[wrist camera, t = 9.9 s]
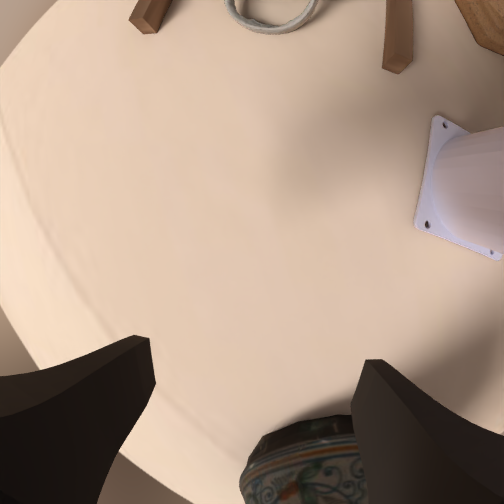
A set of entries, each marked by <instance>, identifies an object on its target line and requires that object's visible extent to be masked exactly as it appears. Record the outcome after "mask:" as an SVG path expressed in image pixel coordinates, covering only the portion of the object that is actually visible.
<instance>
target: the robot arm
mask: <svg viewBox="0 0 504 504" xmlns="http://www.w3.org/2000/svg"><path fill="white" fill-rule="evenodd" d="M443 123H444V124H445V126H446V128H444V127H443ZM426 221H428V226H427V227H426V228H425V222H426ZM413 223H414V226H415V228H417V229H419V230H421V231H424V232H427V233H430V234H432V235H435V236H438V237H440V238H443V239H446V240H448V241H451V242H453V243H456V244H458V245H461V246H463V247H466V248H468V249H471V250H473V251H475V252H478V253H480V254H482V255H485V256H487V257H489V258H492V259H494V260H496V261H499V260H500V259H501V258H502V255H503V254H504V126H502V127H498V128H493V129H489V130H485V131H480V132H476V133H472V134H471V133H469V132H468V131H466V130H464V129H463V128H461V127H459V126H458V125H456V124H454V123H452V122H451V121H449V120H447V119H445V118H443V117H441V116H439V115H436V116H434V117H433V118H432V121H431V130H430V138H429V145H428V152H427V158H426V164H425V170H424V175H423V180H422V185H421V190H420V195H419V199H418V204H417V208H416V212H415V216H414V221H413ZM490 251H491V253H490ZM155 385H156V381H155V375H154V369H153V362H152V355H151V348H150V340H149V338H146V337H141V336H137V335H132V336H129V337H127V338H124V339H122V340H119V341H117V342H115V343H112V344H110V345H108V346H105V347H103V348H101V349H98V350H96V351H94V352H91V353H89V354H87V355H84V356H82V357H79V358H76V359H74V360H71V361H68V362H66V363H63V364H60V365H57V366H54V367H50V368H47V369H43V370H39V371H35V372H30V373H24V374H17V375H10V376H0V504H97V501H98V498H99V495H100V492H101V490H102V487H103V484H104V482H105V479H106V477H107V474H108V472H109V470H110V467H111V465H112V463H113V461H114V458H115V456H116V455H117V453H118V451H119V449H120V448H121V446H122V444H123V443H124V441H125V440H126V438H127V436H128V435H129V433H130V432H131V430H132V428H133V427H134V425H135V424H136V422H137V420H138V419H139V417H140V416H141V414H142V412H143V411H144V409H145V407H146V406H147V403H148V401H149V399H150V397H151V394H152V392H153V390H154V387H155ZM351 412H352V421H353V429H354V433H355V437H356V441H357V445H358V449H359V453H360V457H361V461H362V466H363V470H364V474H365V478H366V484H367V491H368V504H504V436H503V435H500V434H497V433H494V432H492V431H489V430H487V429H484V428H482V427H480V426H477V425H475V424H473V423H471V422H469V421H468V420H466V419H464V418H462V417H460V416H458V415H457V414H455V413H453V412H452V411H450V410H449V409H447V408H446V407H444V406H443V405H441V404H440V403H438V402H437V401H435V400H434V399H433V398H431V397H430V396H429V395H427V394H426V393H425V392H423V391H422V390H421V389H419V388H418V387H417V386H416V385H414V384H413V383H412V382H411V381H409V380H408V379H407V378H406V377H404V376H403V375H402V374H401V373H400V372H398V371H397V370H396V369H395V368H393V367H392V366H391V365H389V364H388V363H387V362H385V361H384V360H382V359H373V360H365V363H364V366H363V370H362V373H361V376H360V379H359V382H358V385H357V388H356V391H355V394H354V396H353V399H352V402H351Z"/></svg>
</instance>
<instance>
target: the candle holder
mask: <svg viewBox="0 0 504 504" xmlns="http://www.w3.org/2000/svg"><path fill="white" fill-rule="evenodd" d="M454 1H455V2H456V4H457V6H458V8H459V9H460V11H461V13H462V15H463V17H464V19H465V21H466V23H467V24H468V26H469V28H470V30H471V32H472V34H473V36H474V38H475V40H476V42H477V43H478V44H479V45H480V46H482V47H484V48H487V49H489V50H491V51H494V52H496V53H498V54H501V55H503V56H504V0H454Z"/></svg>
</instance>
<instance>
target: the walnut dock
mask: <svg viewBox="0 0 504 504" xmlns="http://www.w3.org/2000/svg"><path fill="white" fill-rule="evenodd" d="M171 2H172V0H139V1H138V2H137V4H136V6H135V8H134V10H133V12H132V14H131V16H130V18H129V21H130V22H131V23H132V24H133V25H134V26H135V27H136V28H137V29H139V30H140V31H141V32H142V33H143V34H152V33H157V31H158V29H159V27H160V25H161V22H162V20H163V18H164V16H165V14H166V12H167V10H168V8H169V6H170V4H171ZM412 58H413V12H412V0H387V2H386V27H385V42H384V53H383V63H382V68H383V69H386V70H388V71H391V72H393V73H396V74H399V73H400V72H401V71H402V70H403V69H404V68H405V67H406V66H407V65H408V64H410V63H411V62H412Z"/></svg>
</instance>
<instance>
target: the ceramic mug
mask: <svg viewBox="0 0 504 504" xmlns="http://www.w3.org/2000/svg"><path fill="white" fill-rule="evenodd" d="M224 3H225V6H226V8H227V11H228V13H229V14H230V15H231V17H232V18H233V19H234V20H235V21H236V22H238V23H239V24H240V25H242V26H243V27H245V28H247V29H249V30H251V31H253V32H257V33H263V34H284V33H288V32H291V31H294V30H296V29H297V28H299V27H300V26H302V25H303V24H304V23H306V22H307V20H308V19H309V18H310V17H311V15H312V14H313V12H314V10H315V8H316V5H317V3H318V0H311V1H310V2H309V4H308V5H307V7H306V9H305V10H304V12H303V13H302V14H301V15H299V16H298V17H296V18H295V19H293V20H291V21H289V22H288V23H286V24H284V25H282V26H274V25H268V24H262V23H259V22H257V21H256V20H255V19H247V18H245V17H243V16H241V15H239V14H238V13H237V11H236V7H235V2H234V0H224Z"/></svg>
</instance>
